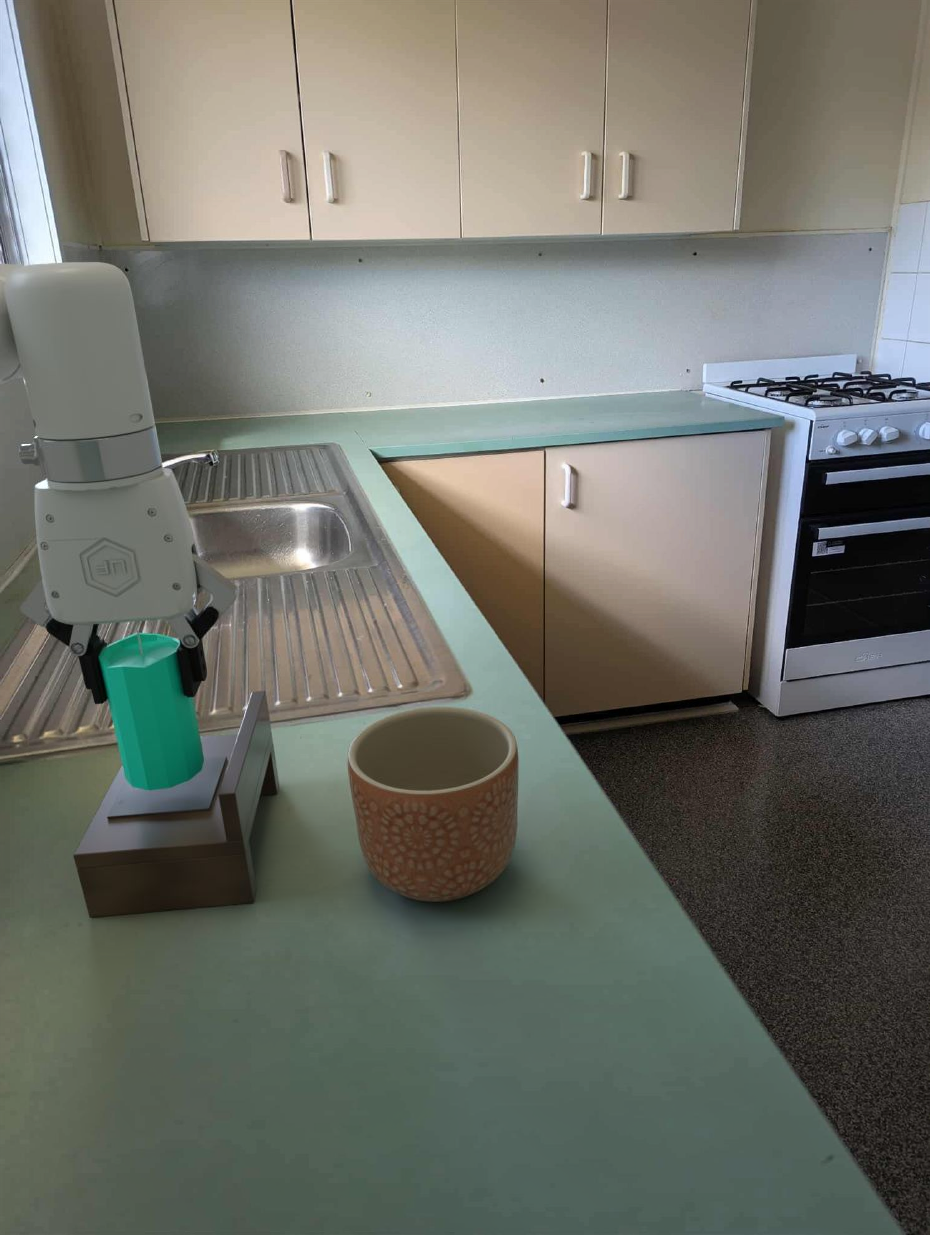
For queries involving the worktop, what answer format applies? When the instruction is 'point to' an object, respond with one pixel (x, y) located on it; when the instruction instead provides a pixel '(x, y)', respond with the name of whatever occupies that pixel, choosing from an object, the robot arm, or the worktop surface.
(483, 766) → the planter
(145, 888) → the wooden chair-shaped stand
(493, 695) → the worktop surface
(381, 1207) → the worktop surface
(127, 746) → the candle
